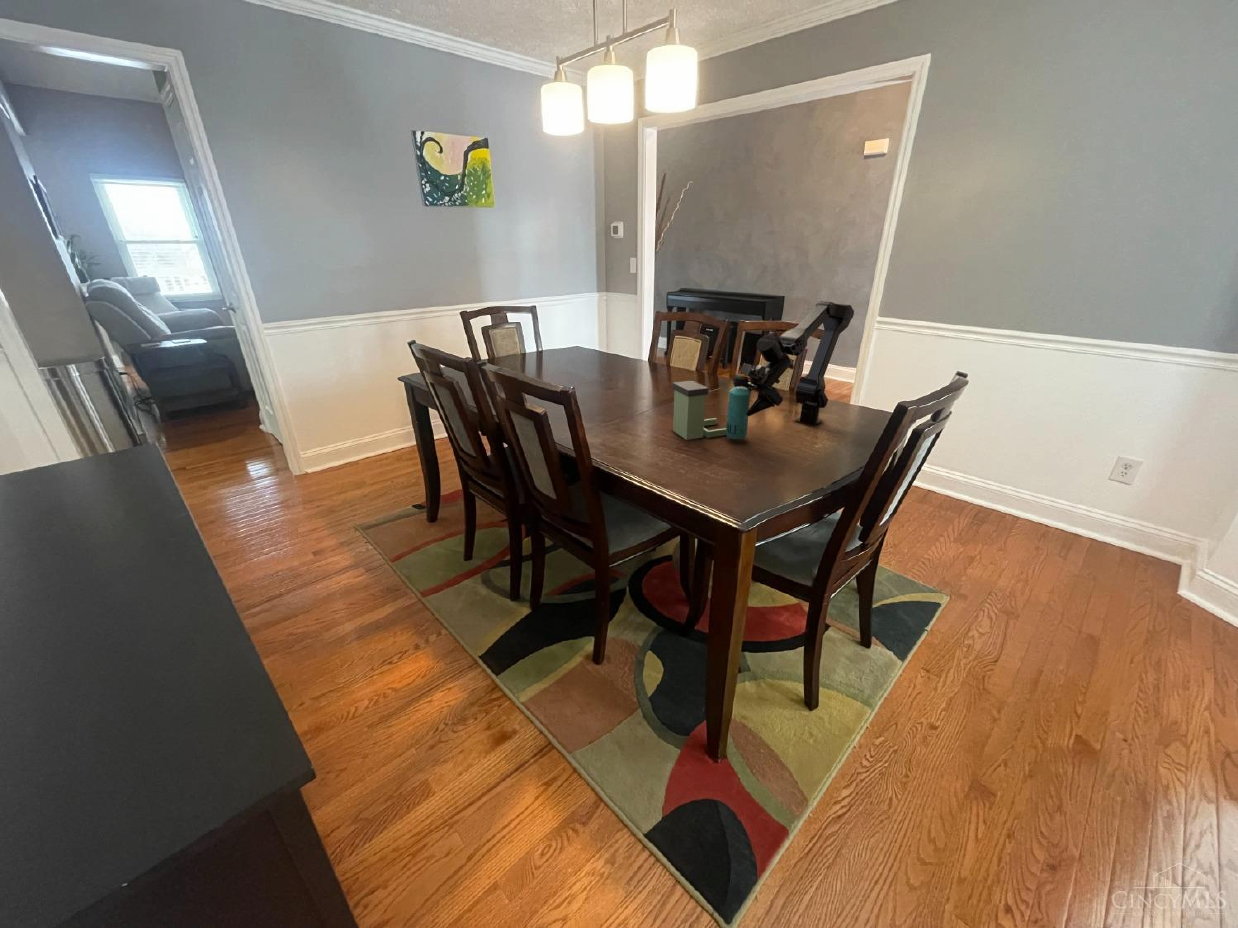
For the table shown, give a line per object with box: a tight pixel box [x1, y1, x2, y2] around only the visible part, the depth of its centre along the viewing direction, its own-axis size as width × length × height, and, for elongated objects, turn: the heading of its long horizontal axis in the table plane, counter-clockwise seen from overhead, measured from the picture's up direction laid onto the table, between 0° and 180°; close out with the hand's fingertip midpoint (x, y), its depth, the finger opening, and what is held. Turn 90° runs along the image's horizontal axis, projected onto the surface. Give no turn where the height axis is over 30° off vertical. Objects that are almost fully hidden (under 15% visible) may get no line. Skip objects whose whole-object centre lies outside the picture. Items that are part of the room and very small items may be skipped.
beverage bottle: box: [725, 375, 752, 440], centre depth 147 cm, size 6×7×20 cm
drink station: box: [672, 380, 727, 441], centre depth 156 cm, size 17×11×16 cm, turn 112°
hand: (738, 410), depth 147 cm, fingers open, 9 cm apart
